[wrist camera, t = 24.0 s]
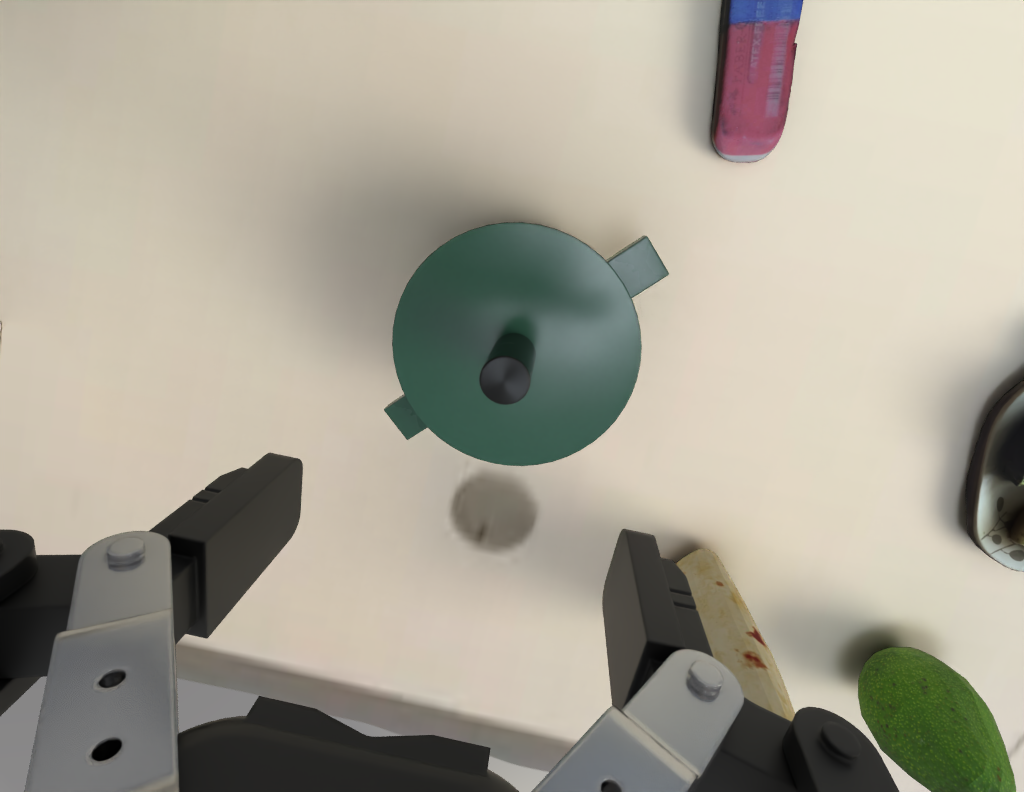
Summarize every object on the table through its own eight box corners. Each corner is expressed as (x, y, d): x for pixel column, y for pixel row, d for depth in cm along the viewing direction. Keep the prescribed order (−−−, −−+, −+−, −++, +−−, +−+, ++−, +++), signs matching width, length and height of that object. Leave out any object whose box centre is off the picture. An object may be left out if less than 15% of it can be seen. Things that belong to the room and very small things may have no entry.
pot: (374, 315, 38) (323, 343, 30) (587, 160, 34) (595, 144, 26) (475, 451, 41) (454, 508, 33) (685, 325, 36) (719, 357, 28)
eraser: (773, 162, 33) (784, 160, 31) (705, 164, 33) (713, 162, 31) (804, -63, 29) (818, -79, 27) (727, -58, 29) (737, -74, 27)
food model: (669, 526, 42) (757, 783, 23) (748, 552, 42) (899, 829, 23) (623, 618, 45) (667, 908, 26) (696, 642, 45) (792, 947, 26)
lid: (350, 314, 30) (300, 338, 25) (551, 166, 27) (548, 153, 21) (487, 495, 33) (471, 553, 28) (684, 383, 30) (713, 424, 24)
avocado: (903, 607, 42) (1027, 751, 31) (956, 667, 44) (1093, 825, 32) (815, 655, 45) (900, 806, 33) (868, 711, 46) (967, 873, 35)
